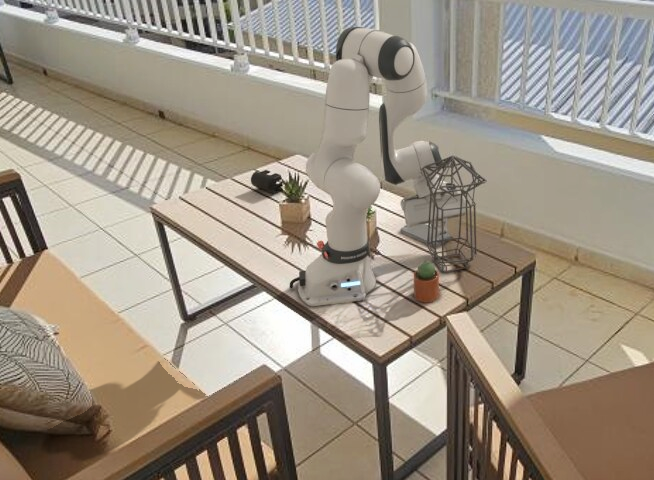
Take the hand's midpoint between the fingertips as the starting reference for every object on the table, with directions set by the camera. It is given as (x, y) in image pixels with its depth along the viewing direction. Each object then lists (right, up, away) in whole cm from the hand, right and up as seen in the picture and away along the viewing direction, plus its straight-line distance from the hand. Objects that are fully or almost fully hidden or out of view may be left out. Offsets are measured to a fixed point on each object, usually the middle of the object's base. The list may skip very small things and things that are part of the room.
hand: (442, 234), depth 190 cm
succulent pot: (-5, -18, -16) cm, 24 cm away
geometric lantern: (+3, -9, -2) cm, 10 cm away
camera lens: (-64, +18, +45) cm, 81 cm away
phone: (-5, 0, +13) cm, 14 cm away
